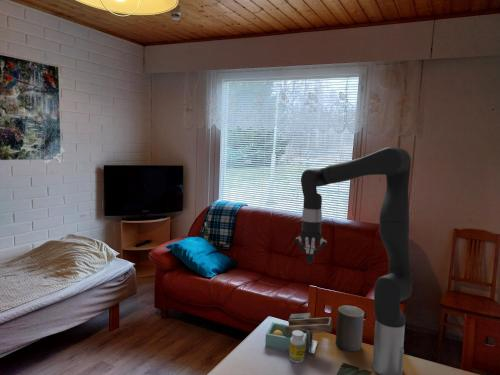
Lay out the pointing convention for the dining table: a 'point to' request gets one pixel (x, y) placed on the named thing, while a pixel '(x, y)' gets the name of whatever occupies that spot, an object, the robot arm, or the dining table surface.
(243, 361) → the dining table surface
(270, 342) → the green open box
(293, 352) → the supplement bottle
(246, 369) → the dining table surface
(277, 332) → the ball
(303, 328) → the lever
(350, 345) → the pillar candle
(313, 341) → the stand
